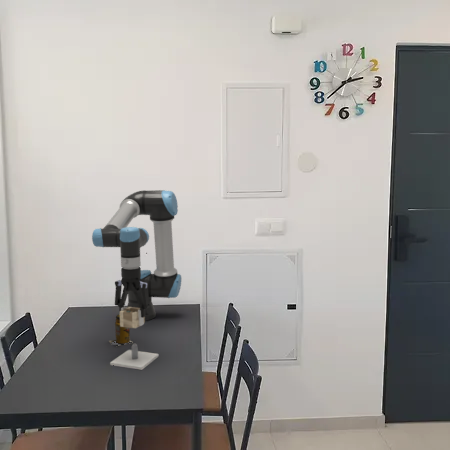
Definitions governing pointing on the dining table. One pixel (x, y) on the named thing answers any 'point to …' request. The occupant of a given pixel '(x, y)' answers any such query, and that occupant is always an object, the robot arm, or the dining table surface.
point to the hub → (134, 358)
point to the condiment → (121, 333)
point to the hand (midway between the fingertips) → (132, 323)
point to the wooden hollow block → (129, 317)
